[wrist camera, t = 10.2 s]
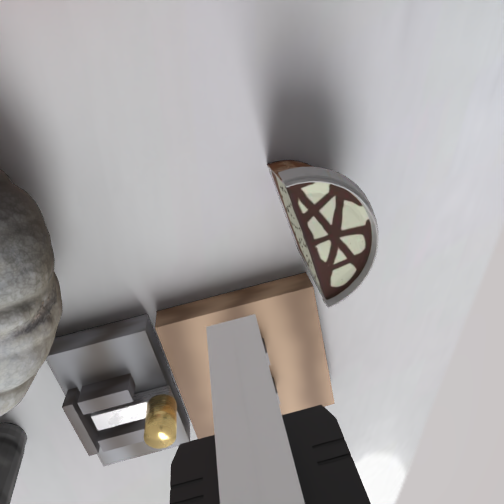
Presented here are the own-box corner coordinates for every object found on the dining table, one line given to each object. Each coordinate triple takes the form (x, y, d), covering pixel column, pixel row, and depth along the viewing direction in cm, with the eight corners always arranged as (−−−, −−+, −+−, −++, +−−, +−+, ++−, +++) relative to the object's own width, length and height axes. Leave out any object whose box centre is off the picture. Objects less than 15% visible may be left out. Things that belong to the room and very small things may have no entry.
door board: (305, 272, 47) (319, 298, 42) (327, 385, 54) (341, 419, 49) (52, 338, 46) (37, 373, 41) (107, 444, 53) (100, 485, 48)
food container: (357, 238, 46) (399, 286, 37) (301, 260, 46) (330, 313, 37) (324, 123, 41) (364, 147, 32) (261, 149, 41) (283, 179, 32)
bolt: (172, 380, 46) (171, 421, 41) (180, 401, 48) (180, 443, 43) (92, 401, 46) (80, 445, 41) (102, 422, 47) (92, 467, 42)
